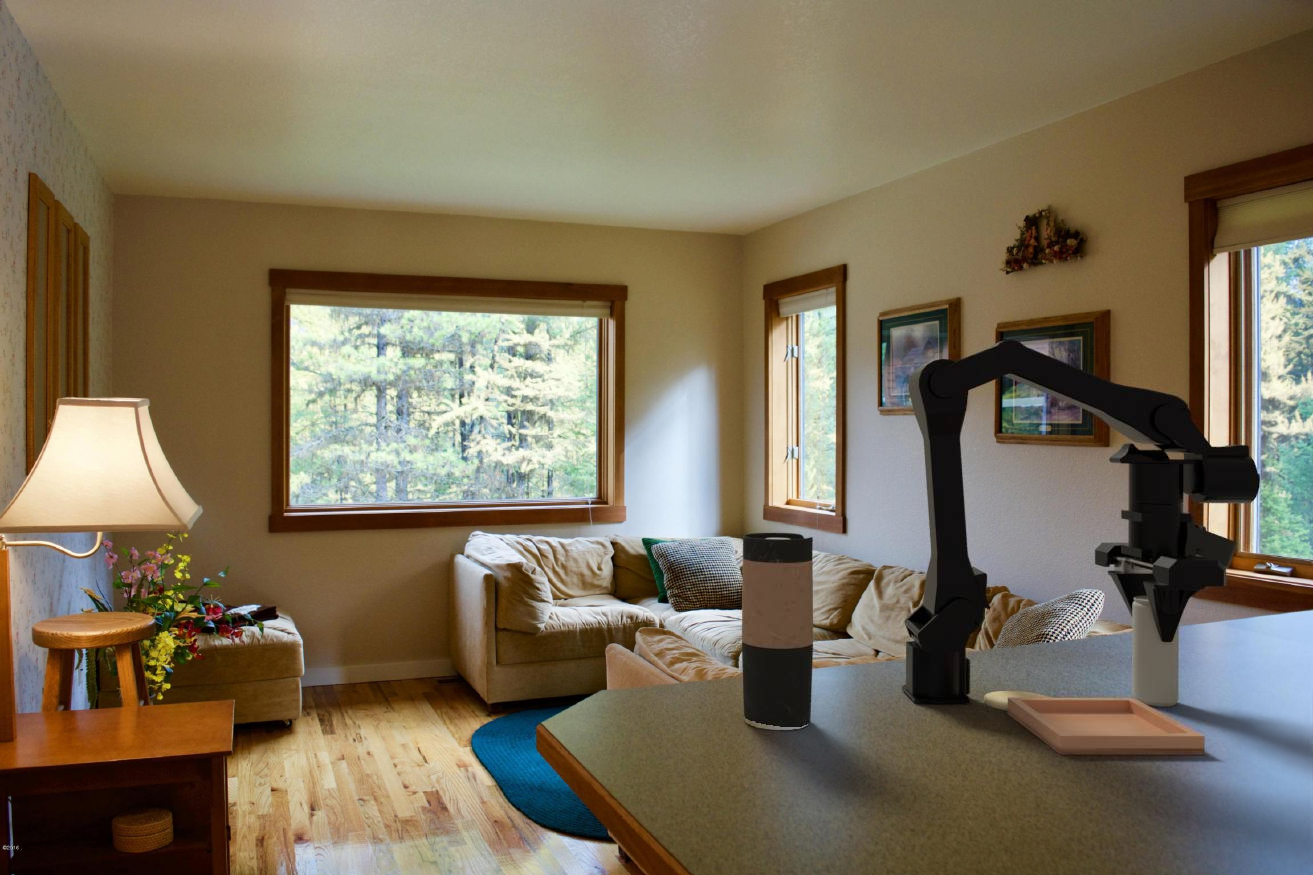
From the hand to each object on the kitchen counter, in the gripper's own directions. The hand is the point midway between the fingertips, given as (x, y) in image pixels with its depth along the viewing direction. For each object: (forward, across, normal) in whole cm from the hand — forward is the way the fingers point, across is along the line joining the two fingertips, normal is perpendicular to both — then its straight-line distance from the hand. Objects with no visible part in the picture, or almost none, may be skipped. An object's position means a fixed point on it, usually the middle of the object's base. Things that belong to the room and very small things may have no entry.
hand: (1155, 637), depth 114 cm
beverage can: (+8, 0, 0) cm, 8 cm away
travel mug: (+8, -8, +45) cm, 46 cm away
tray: (+8, -12, +12) cm, 19 cm away
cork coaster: (+8, -1, +16) cm, 18 cm away
